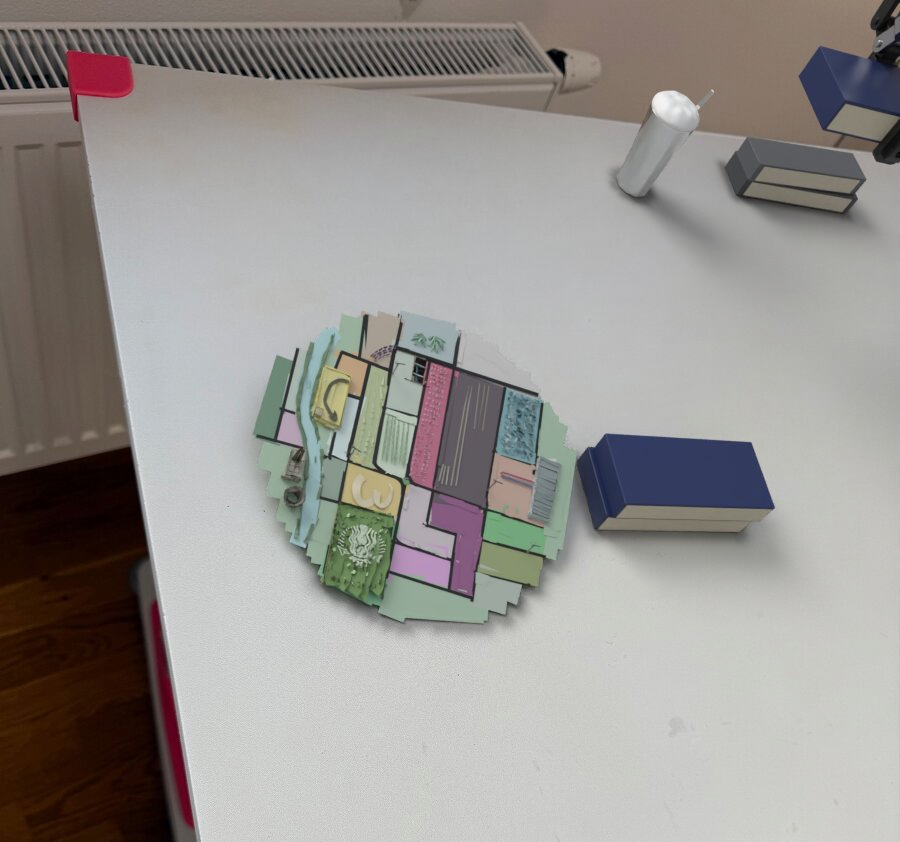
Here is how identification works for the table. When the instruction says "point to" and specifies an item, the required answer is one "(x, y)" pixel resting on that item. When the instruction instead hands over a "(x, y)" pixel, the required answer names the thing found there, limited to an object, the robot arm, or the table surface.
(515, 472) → the city model
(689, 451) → the navy stack
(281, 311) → the table surface
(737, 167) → the grey stack
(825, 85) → the navy book
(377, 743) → the table surface
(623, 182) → the milkshake
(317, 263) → the table surface
